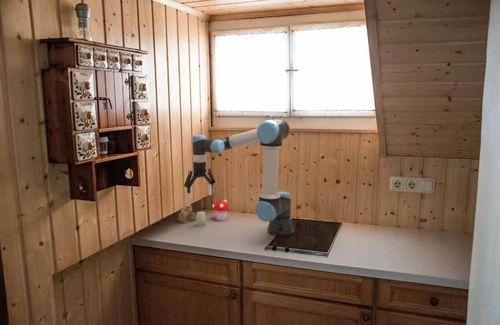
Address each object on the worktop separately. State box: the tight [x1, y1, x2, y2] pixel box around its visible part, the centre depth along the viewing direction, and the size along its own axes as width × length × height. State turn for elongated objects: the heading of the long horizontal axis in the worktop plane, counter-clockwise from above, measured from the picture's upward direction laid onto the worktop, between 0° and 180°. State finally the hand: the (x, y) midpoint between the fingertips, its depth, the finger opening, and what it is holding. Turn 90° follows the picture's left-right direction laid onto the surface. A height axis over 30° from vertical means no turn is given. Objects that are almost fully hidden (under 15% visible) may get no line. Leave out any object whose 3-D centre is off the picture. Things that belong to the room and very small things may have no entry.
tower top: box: [180, 204, 193, 215], centre depth 267 cm, size 5×5×5 cm
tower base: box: [178, 212, 196, 224], centre depth 268 cm, size 8×8×5 cm
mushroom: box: [211, 199, 230, 221], centre depth 271 cm, size 11×11×12 cm
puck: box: [196, 210, 207, 228], centre depth 258 cm, size 5×5×8 cm
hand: (200, 196), depth 256 cm, fingers open, 13 cm apart
